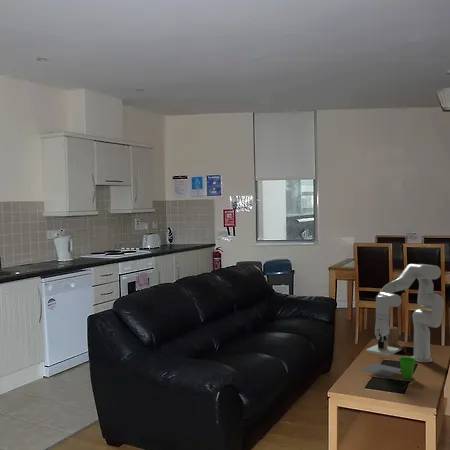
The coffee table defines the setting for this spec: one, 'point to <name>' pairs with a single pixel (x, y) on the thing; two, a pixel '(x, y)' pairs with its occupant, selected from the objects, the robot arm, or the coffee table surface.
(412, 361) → the cup
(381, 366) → the mat
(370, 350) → the lid
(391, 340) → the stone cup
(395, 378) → the coffee table surface
